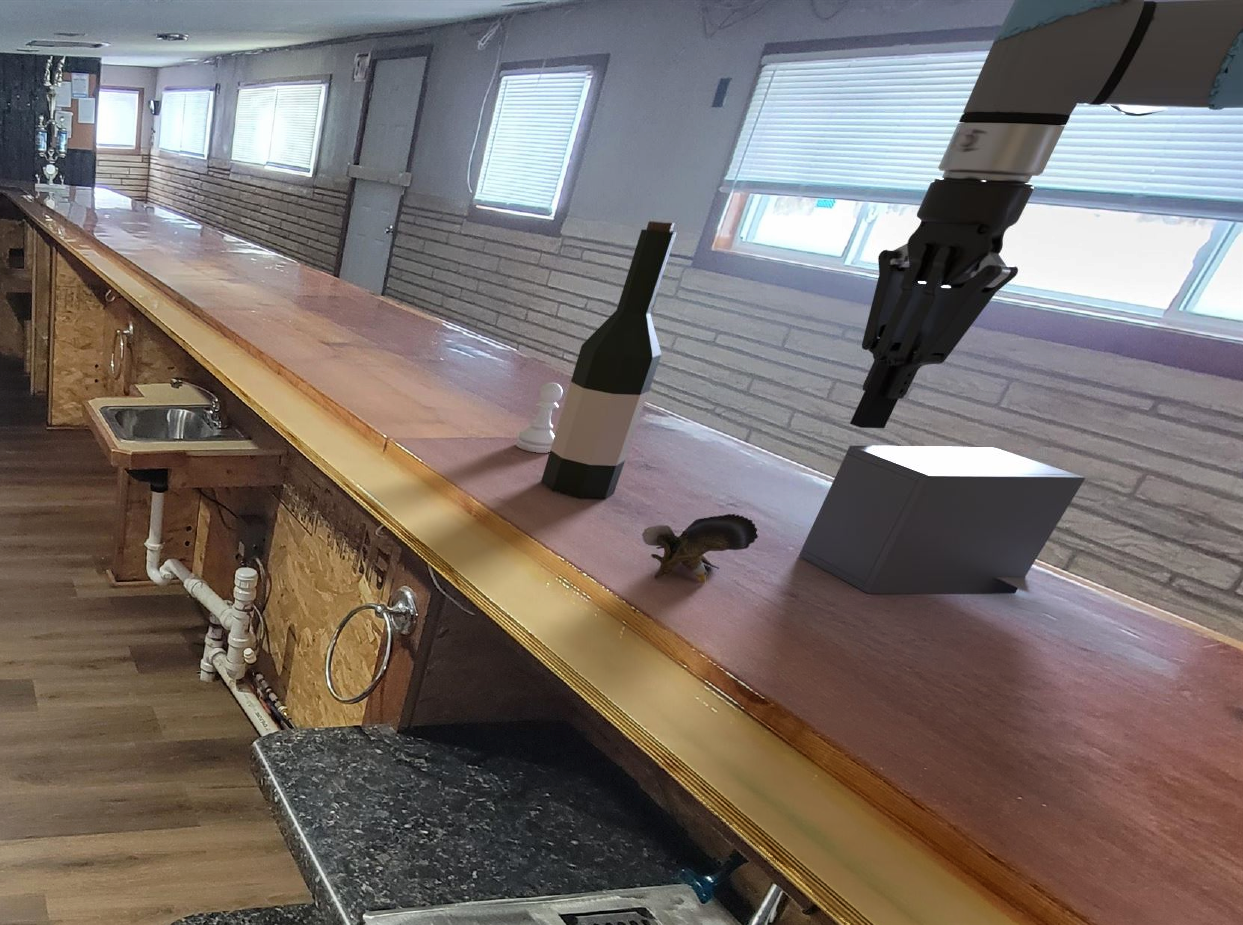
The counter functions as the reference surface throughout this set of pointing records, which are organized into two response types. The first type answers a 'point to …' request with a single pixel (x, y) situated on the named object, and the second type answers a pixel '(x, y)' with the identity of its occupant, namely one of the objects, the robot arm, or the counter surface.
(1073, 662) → the counter surface
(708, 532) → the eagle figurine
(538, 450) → the chess pawn
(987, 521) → the grey cardboard box
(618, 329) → the wine bottle
